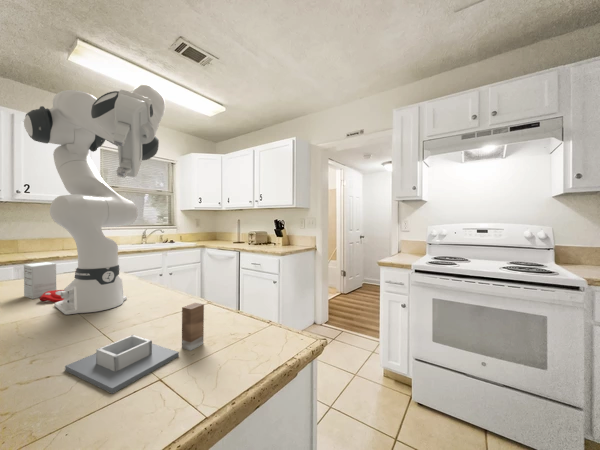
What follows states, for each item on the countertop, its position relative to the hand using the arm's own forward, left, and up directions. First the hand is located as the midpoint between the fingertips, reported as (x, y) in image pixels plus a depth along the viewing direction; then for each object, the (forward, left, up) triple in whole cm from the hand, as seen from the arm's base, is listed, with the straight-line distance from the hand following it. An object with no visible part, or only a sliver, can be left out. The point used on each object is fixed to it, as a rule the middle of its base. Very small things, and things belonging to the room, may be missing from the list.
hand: (119, 159), depth 57 cm
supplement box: (-75, +14, -45) cm, 89 cm away
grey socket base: (+4, -1, -45) cm, 45 cm away
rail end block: (+11, +11, -45) cm, 47 cm away
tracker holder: (-63, +16, -45) cm, 79 cm away
